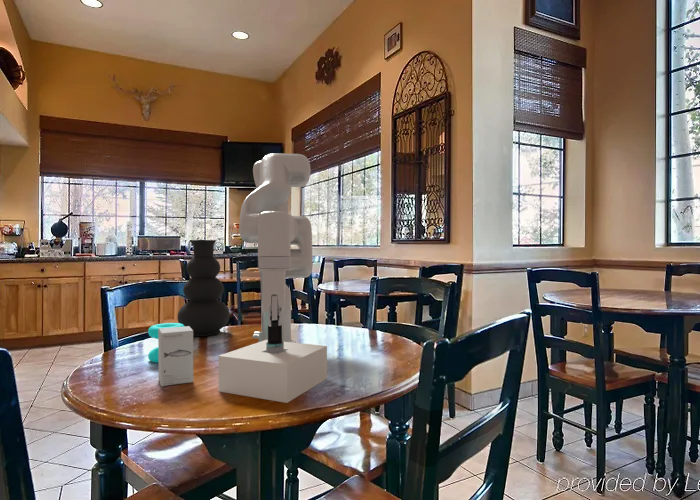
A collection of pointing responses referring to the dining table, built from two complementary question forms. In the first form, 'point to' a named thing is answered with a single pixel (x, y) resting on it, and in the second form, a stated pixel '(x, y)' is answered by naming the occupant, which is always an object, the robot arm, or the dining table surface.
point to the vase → (203, 292)
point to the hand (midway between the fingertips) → (275, 342)
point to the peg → (275, 348)
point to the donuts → (153, 333)
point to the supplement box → (175, 355)
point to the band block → (272, 371)
